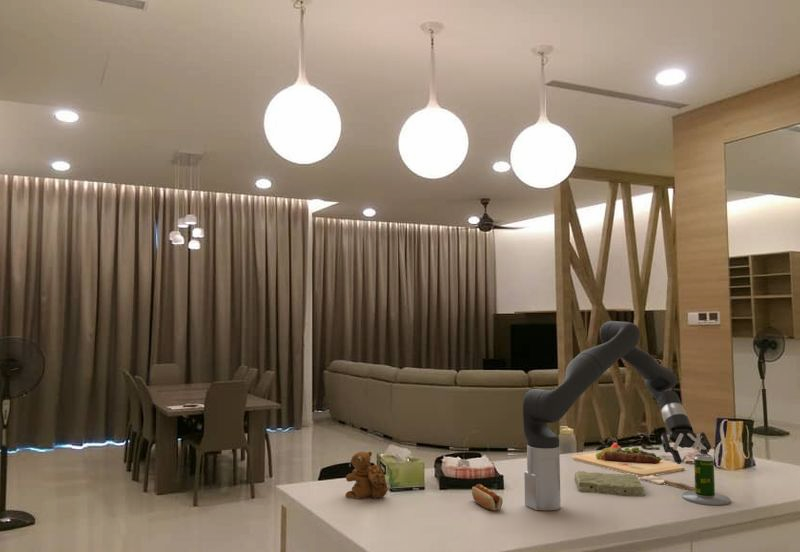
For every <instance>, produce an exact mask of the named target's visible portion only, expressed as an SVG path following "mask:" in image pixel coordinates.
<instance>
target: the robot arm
mask: <svg viewBox="0 0 800 552" xmlns="http://www.w3.org/2000/svg"><path fill="white" fill-rule="evenodd" d="M639 328H640V327H638V325H636V324H635V323H634V322H633V323H632V322H629V321H616V320H610V321H609V320H608V321H606V322H604V323H603V324H602V326H601V327H600V329H599V338H600V341H601V344H598V345H595V346H592V347H590V348H588V349H587V348H586V349H585V350H583V351H581V352H580V353H578V354H577V355H576V356H575V357H574V358H573V359H572V360H571V361H570V362H569V363H568V364H567V367H566V369H565V374H564V376H565V377H564V380H563V381H562V382H561V384H559V385H558V386H557V387H555V388H553V389H551V390H549V389H539V388H532V389H529V390H528V391H527V392H525V395H524V397H523V401H522V419H523V432H524V437H525V439H526V465H527V466H526V468H527V470H526V471H524V473H523V474H524V505H525V506H526V507H528V508H531V509H532V510H534V511H548V512H549V511H556V510H559V509H561V507H562V506H561V463H560V461H561V459H560V455H561V454H560V437H559V436H558V435H557V434H556V433H555V432H553V431H552V430H551V429H550V427H549V425H548V424H553V423H554V424H555V423H557V422H559V421H560V420H561V419H563V417H565V415H566V414H567V413H568V411H569V410H570V409H571V408H572V407H573V405H574V403H575V402H576V401H578V399H580V397H581V396H582V395H583V394H584V393H585V392H586V391H587V390H588V389H589V388H590V387H591V386H592V385H594V384H595V382H596V381H598V380H599V378H601V377H602V376H603V374H604V373H605V372H607V370H609V369H610V368H611V367H612V366H613V365H614V364H615V363H616V362H617V361H619V360H620V359H623V360H624V361H625V362H627V363H628V364H629V365H630V366H631V367H632V368H634V370H635V371H637V373H638V374H640V376H641V377H642V378H643V379H644V385H645V387H646V389H647V390H648V391H649V393H650V394H651V395H652V396H653V397H654V400H655V401H656V402H657V404H658V407H659V409H660V412H661V413H660V414H661V417H662V420H663V423H664V424H665V427H666V431H667V432H668V434H667V433H666V432H662V434H661V436H660V440H661V443H662V448H663V451H664V452H665V453H666V454H667V453H670V454H671V455H672V458H673V460H674V462H675V463H676V464H678V465H681V464H682V458H681V454H680V452H679V450H678V447H679V448H681V449H683V448H688V449H690V448H691V449H693V450H694V451H697V452H698V453H699V454H707V455H709V453H710V451H711V449H712V445H711V443H710V441H709V439H708V437H707V436H706V433H705V432H700V433H698V434H697V433H695V432H694V429H693V426H692V423H691V421H690V419H689V416H688V414H687V412H686V410H685V408H684V406H683V405H682V403H681V399H680V397H679V395H678V393H677V392H676V391H675V390H674V391H673V390H670V389H673V388H674V387H676V385H677V382H678V377H677V375H676V374H675V373H674V371H673V370H671V369H670V368H668V367H667V366H666V365H665V366H664V365H662V364H661V363H658V362H657V361H656V359H655V358H654V357H653V356H652V355H651V354H649V353H648V352H647V351H645V350H643V349H642V348H640V347H638V346H637V345H638V343H639V342H640V341H639V340H640V337H641V332H640V329H639ZM669 440H670V441H671V442H672V443H674V444H673V446H671V444H670V442H669Z"/></svg>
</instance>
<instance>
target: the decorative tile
mask: <svg viewBox="0 0 800 552" xmlns="http://www.w3.org/2000/svg"><path fill="white" fill-rule="evenodd" d="M574 481H575V485H576V488H577V491H578V492H580V493H581V492H582V493H597V492H599V493H598V494H608V493H609V495H617V494H621V495H620V496H636V495H644V496H645V490H644V487H643V485H642V483H641V480H640V478H639V476H636V475H631V474H627V473H613V472H612V473H607V472H604V473H603V472H589V471H587V472H586V471H583V470H581V471H576V472H575V473H574Z"/></svg>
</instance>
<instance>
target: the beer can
mask: <svg viewBox="0 0 800 552" xmlns="http://www.w3.org/2000/svg"><path fill="white" fill-rule="evenodd" d="M693 463H694V464H693V465H694V486H695V493H696V496H698V497H701V498H714V496H715V493H716V492H715V491H716V487H715V486H716V485H715V460H714V456H713V455H711V454H708V455H707V454H701V453H696V454H694V458H693Z"/></svg>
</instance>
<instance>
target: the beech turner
mask: <svg viewBox="0 0 800 552" xmlns="http://www.w3.org/2000/svg"><path fill="white" fill-rule="evenodd" d="M640 479H641V480H640ZM639 480H640V481H643V480H645V482H647V481H649V482H648V483H651V482H653V483H652V484H655V483H657V484H656V485H659V484H661V485H667V484H668V485H667V486H671V485H672V487H675V486H676V487H675V488H680V489H683V488H684V490H687V489H688V490H687V491H695V485H691V484H687V483H682V482H680V481H674V480H671V479H666V478H663V477H662V478H661V477H658V476H656V475H655V476H647V477H639ZM664 483H665V484H664Z"/></svg>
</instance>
